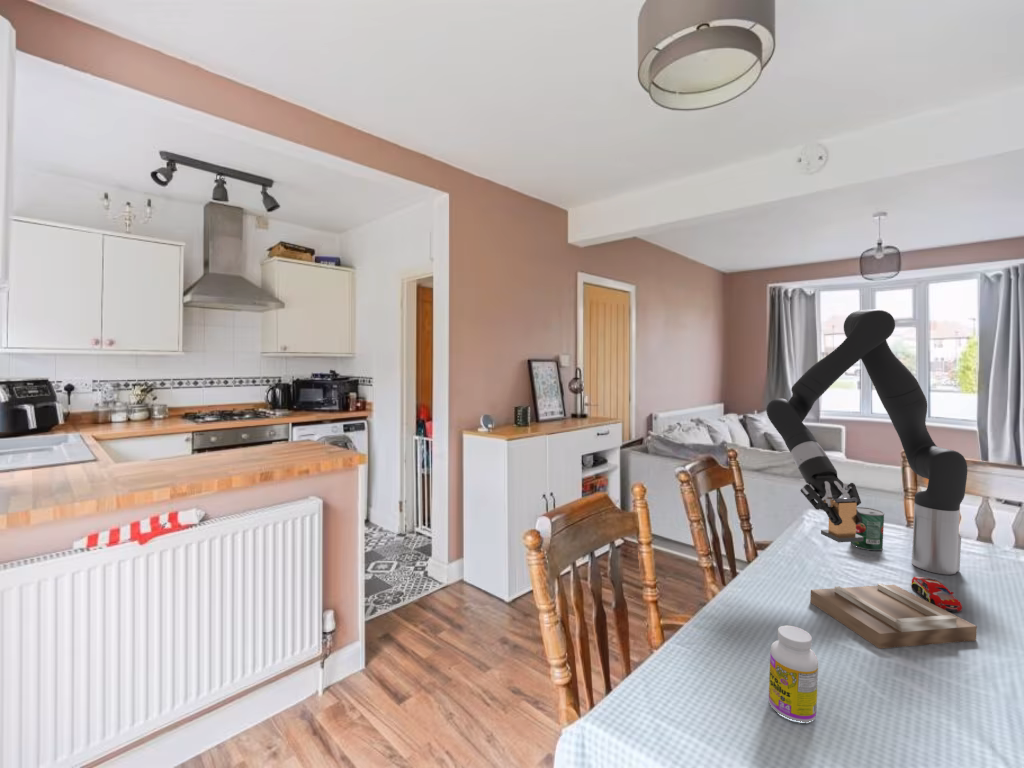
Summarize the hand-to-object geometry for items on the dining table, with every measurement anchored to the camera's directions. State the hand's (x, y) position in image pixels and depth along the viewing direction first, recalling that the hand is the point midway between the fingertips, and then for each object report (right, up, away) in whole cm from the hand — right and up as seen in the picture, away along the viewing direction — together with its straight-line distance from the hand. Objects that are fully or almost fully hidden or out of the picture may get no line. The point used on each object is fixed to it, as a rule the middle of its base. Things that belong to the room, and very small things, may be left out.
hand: (848, 523), depth 113 cm
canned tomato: (+28, -17, +32) cm, 46 cm away
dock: (+1, -18, -10) cm, 21 cm away
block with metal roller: (0, -4, +2) cm, 5 cm away
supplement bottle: (-36, -20, -37) cm, 55 cm away
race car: (+20, -18, 0) cm, 27 cm away
